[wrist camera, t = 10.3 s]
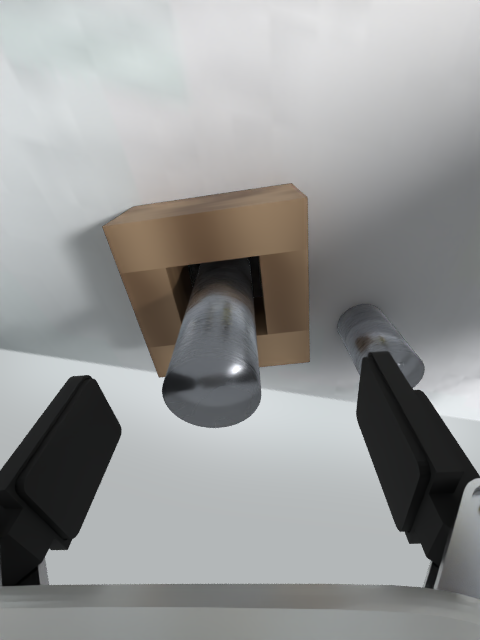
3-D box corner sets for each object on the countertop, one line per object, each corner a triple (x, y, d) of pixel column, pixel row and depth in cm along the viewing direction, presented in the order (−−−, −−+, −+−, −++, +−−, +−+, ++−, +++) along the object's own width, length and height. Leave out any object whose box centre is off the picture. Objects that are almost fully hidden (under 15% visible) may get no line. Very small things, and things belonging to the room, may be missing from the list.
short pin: (386, 301, 22) (429, 350, 17) (381, 339, 24) (418, 393, 19) (338, 307, 23) (367, 356, 17) (336, 344, 24) (361, 398, 19)
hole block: (291, 183, 18) (307, 197, 14) (296, 320, 23) (309, 362, 19) (133, 206, 19) (102, 226, 14) (173, 334, 24) (158, 377, 20)
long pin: (247, 241, 20) (255, 351, 10) (253, 289, 22) (265, 423, 12) (195, 248, 20) (149, 362, 10) (205, 295, 22) (176, 431, 12)
